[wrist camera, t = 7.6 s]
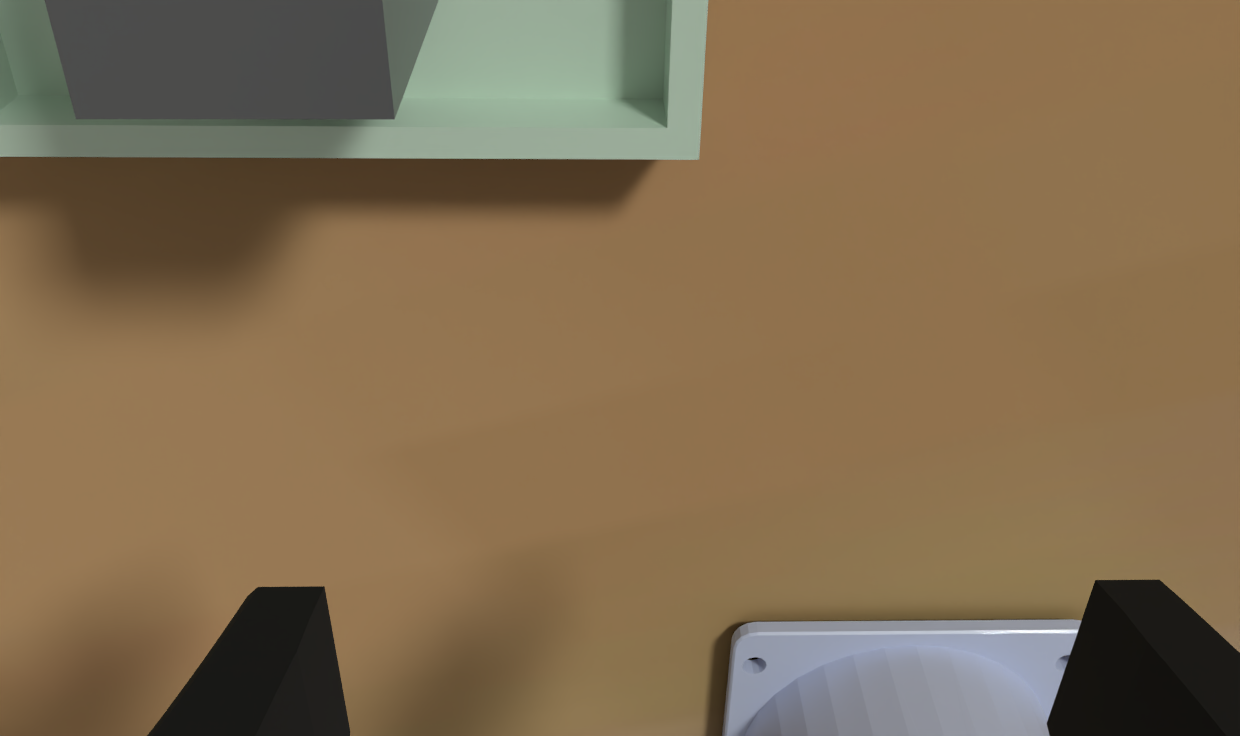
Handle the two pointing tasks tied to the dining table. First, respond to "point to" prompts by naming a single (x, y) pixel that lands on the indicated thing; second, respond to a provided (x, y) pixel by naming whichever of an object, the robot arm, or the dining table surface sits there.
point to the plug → (238, 57)
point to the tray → (423, 92)
